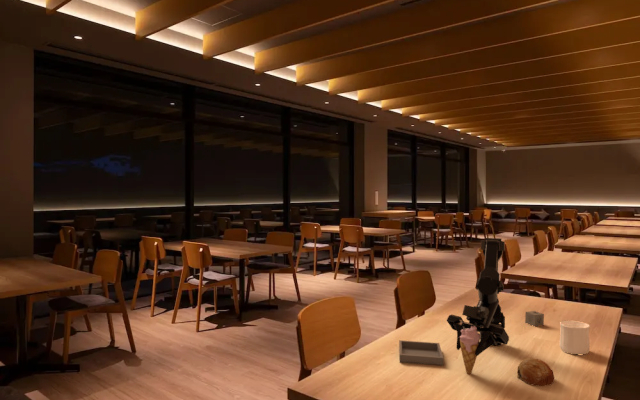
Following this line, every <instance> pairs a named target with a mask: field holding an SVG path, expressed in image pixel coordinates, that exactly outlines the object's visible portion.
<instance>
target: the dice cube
mask: <svg viewBox="0 0 640 400" xmlns="http://www.w3.org/2000/svg"><path fill="white" fill-rule="evenodd" d="M524 315H525V318H524V319H525V321H524V322H525V324H526V323H528V324H527V325H529V324H530V326H532V325H533V326H532V327H534V326H535V327H539V326H538V325H543V326H544V325H545V321H544V320H545V314H544V313H541V312H538V311H536V310H531V311H525V314H524Z"/></svg>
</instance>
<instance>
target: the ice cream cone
mask: <svg viewBox="0 0 640 400" xmlns="http://www.w3.org/2000/svg"><path fill="white" fill-rule="evenodd" d="M461 333H462V335H461V336H460V345H461V348H460V351H461V355H462V359H463V364H464V367H465V373H466V374H468V375H472V373H473V369H474V366H475V363H476V360H477V357H478V356H476V355H475V352H476V349H477V347H478V345H479V343H480V332H477V328H476V326H473V327H472V326H471V329H469V328H467V329H466V330H464V329H462V330H461Z"/></svg>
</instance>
